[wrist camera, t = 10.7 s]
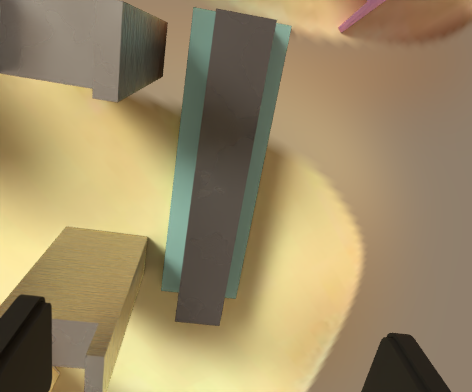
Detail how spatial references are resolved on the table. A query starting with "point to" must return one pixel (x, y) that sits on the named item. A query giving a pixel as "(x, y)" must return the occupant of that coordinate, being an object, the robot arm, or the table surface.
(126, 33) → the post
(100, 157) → the table surface
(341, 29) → the toy chair
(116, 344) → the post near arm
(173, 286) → the mat
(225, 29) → the rail
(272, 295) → the table surface
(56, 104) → the table surface
